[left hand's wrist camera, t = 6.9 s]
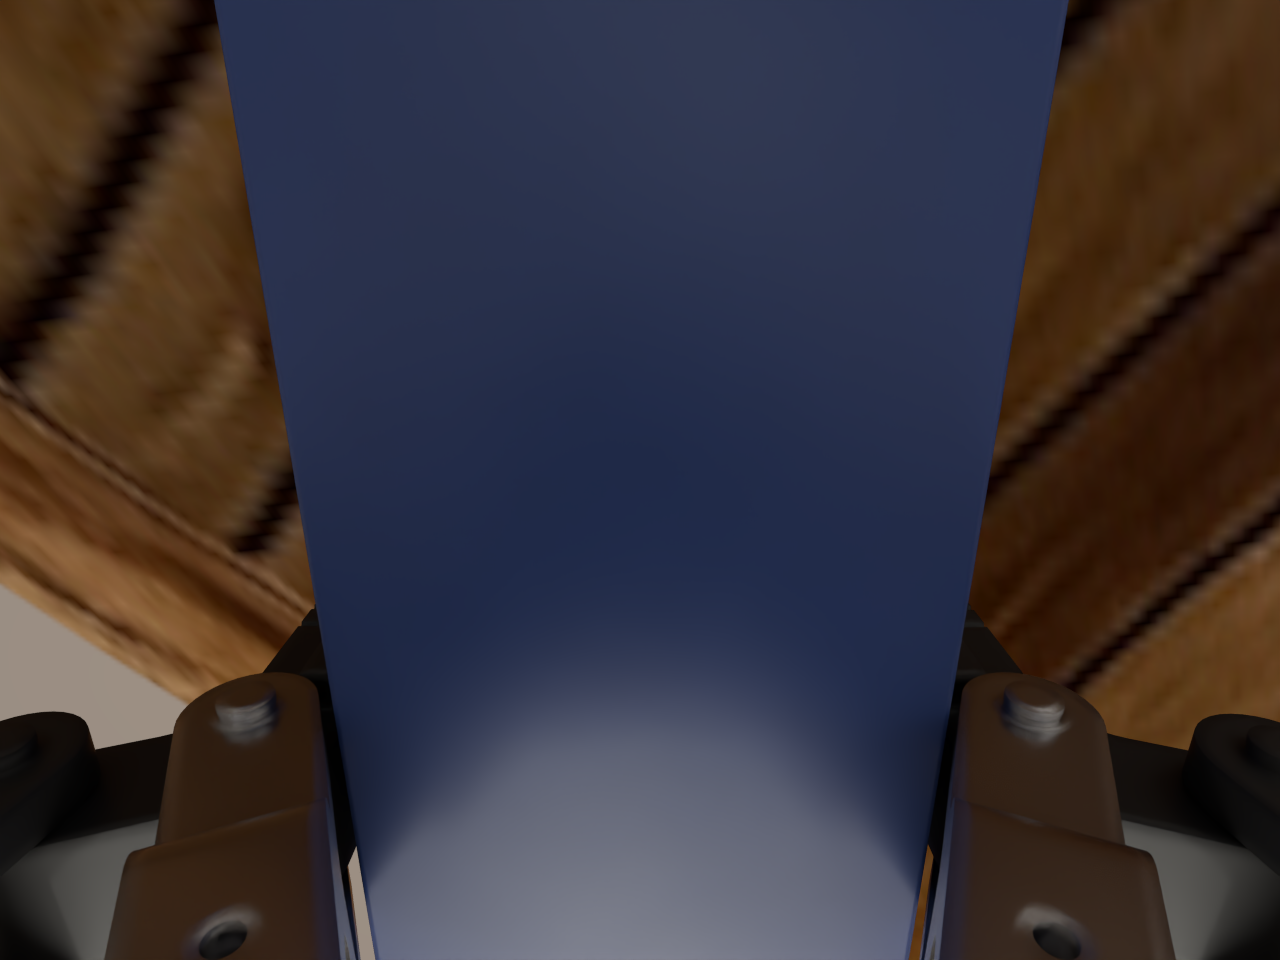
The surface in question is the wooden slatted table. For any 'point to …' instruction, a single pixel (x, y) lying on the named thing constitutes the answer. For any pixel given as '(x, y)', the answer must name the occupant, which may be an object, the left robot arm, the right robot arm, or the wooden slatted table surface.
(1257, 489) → the wooden slatted table surface
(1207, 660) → the wooden slatted table surface
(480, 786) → the bar
